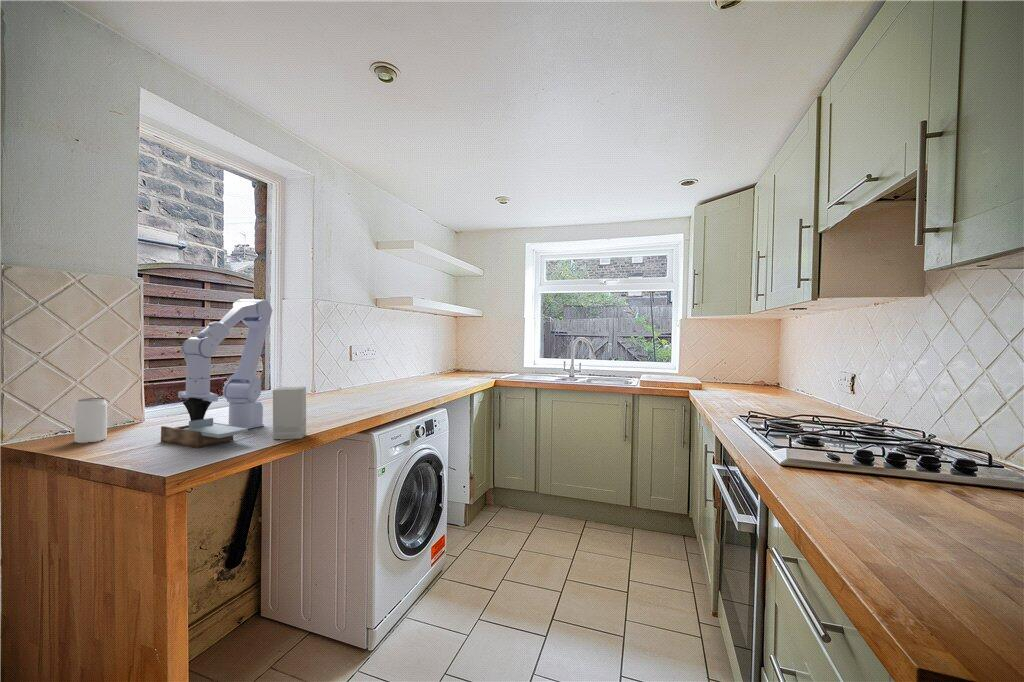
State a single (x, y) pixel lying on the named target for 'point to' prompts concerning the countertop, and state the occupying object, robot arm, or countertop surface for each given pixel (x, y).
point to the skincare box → (289, 412)
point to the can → (90, 420)
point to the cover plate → (214, 428)
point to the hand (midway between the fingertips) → (197, 424)
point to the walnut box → (189, 437)
